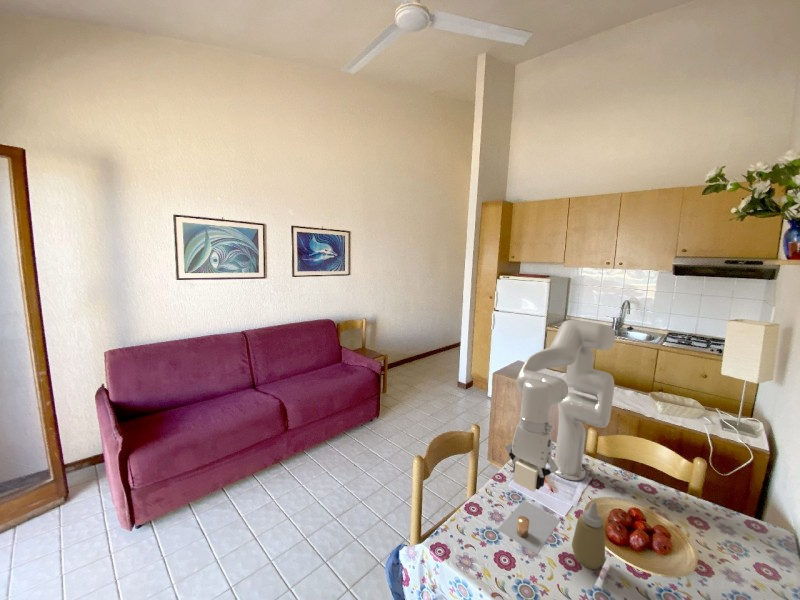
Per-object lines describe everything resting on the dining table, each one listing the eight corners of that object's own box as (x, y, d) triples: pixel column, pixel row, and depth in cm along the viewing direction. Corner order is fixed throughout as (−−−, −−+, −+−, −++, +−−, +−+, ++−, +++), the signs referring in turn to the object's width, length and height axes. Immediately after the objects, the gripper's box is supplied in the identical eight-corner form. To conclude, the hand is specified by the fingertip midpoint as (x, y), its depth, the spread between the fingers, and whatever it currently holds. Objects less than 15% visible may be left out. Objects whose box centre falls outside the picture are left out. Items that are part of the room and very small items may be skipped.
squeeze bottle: (586, 579, 90) (594, 517, 87) (563, 553, 97) (570, 495, 95) (610, 571, 92) (618, 511, 89) (586, 546, 99) (593, 490, 97)
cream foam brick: (522, 472, 104) (524, 454, 103) (542, 482, 100) (544, 463, 99) (513, 481, 100) (515, 462, 99) (533, 492, 96) (535, 472, 95)
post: (519, 527, 104) (520, 514, 104) (529, 533, 102) (531, 520, 101) (514, 533, 102) (516, 519, 101) (525, 539, 100) (526, 526, 99)
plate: (523, 503, 116) (523, 499, 116) (560, 523, 108) (560, 520, 108) (497, 532, 103) (497, 529, 103) (536, 558, 95) (536, 554, 95)
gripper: (570, 430, 94) (563, 490, 97) (511, 409, 106) (506, 463, 109) (560, 440, 89) (553, 503, 91) (499, 416, 101) (494, 473, 103)
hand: (527, 480), depth 100 cm, fingers closed on cream foam brick, 5 cm apart
